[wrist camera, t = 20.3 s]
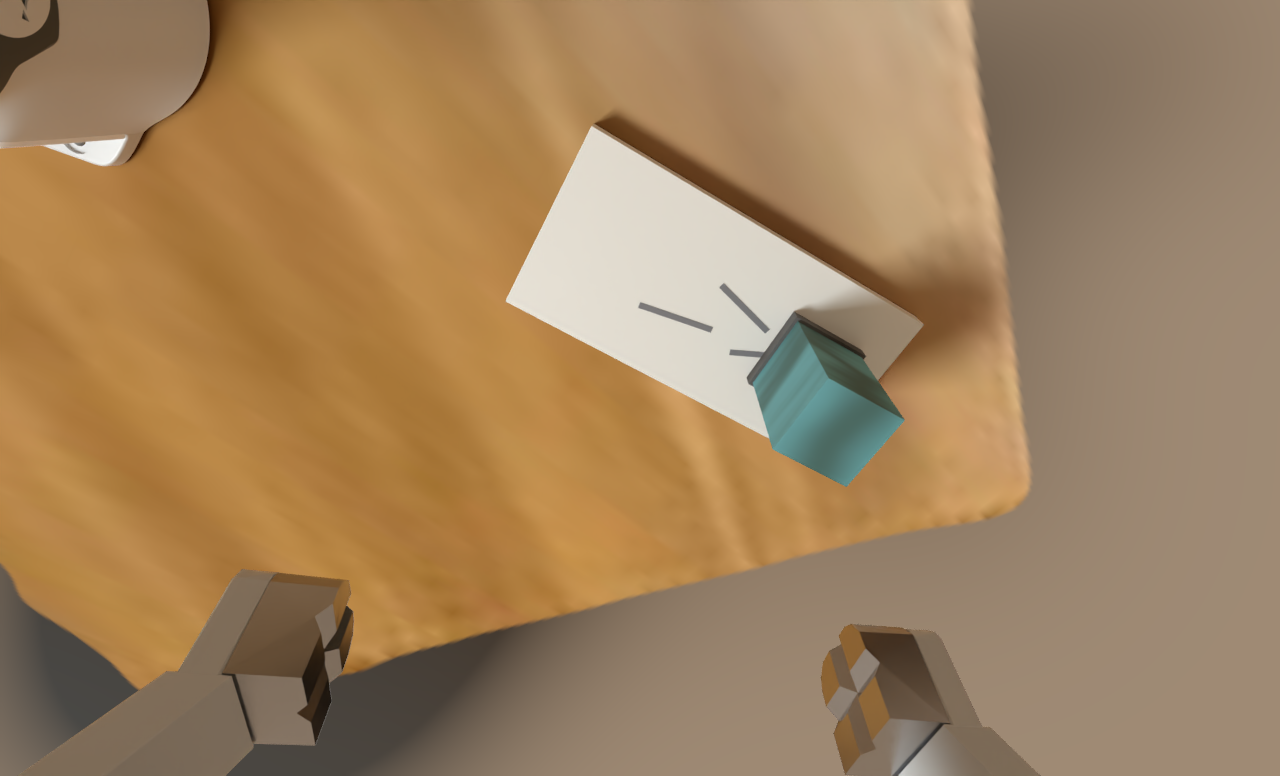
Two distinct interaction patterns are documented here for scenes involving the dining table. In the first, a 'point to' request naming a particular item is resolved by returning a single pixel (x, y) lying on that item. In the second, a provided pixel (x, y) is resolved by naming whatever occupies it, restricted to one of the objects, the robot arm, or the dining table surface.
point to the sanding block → (822, 400)
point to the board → (686, 281)
